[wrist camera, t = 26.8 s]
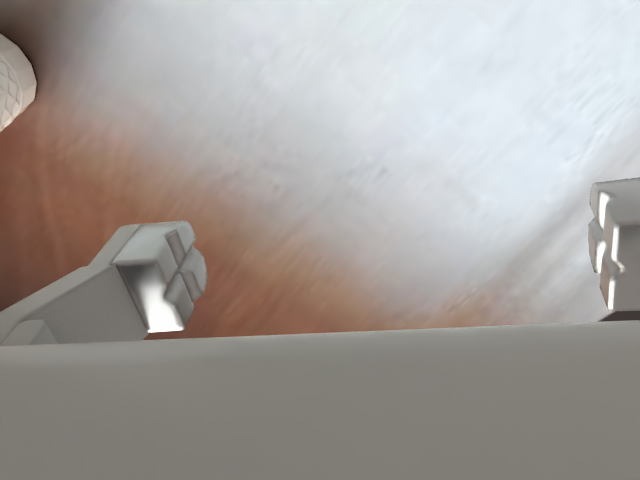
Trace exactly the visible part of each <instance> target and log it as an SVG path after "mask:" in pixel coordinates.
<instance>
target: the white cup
mask: <svg viewBox="0 0 640 480" xmlns="http://www.w3.org/2000/svg"><path fill="white" fill-rule="evenodd" d="M36 86H37V82H36V78H35V75H34V72H33V68H32V65H31V63H30V62H29V60H28V59H27V58H26V56H25V55H24V54H23V52H22V51H21V50H20V48H19V47H18V46H17V45H16V44H14V43H13V42H11V41H10V40H9V39H7V38H6V37H4V36H3V35H2V34H0V132H1V131H2V130H3V129H4V128H5V127H6V126H8V125H9V124H10V123H11V122H12V121H13V120H14V118H15V117H17V116H18V115H19V114H20V113H22V112H23V111H24V110H25V109H26V108H27V107H28V106H29V105H30V104H31V103H32V102H33V101H34V99H35V92H36Z"/></svg>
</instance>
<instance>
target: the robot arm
mask: <svg viewBox="0 0 640 480" xmlns="http://www.w3.org/2000/svg"><path fill="white" fill-rule="evenodd" d="M590 206H591V209H592V211H593V214H594V216H595V218H594V219H593V220H592V221H591V222H590V223H589V234H588V241H589V254H590V258H591V263H592V266H593V269H594V272H595V273H597V274H598V275H600V276H601V277H600V289H601V292H602V294H603V297H604V300H605V303H606V305H607V308H608V311H633V310H634V311H635V310H640V178H631V179H622V180H614V181H605V182H596V183H593V184H592V186H591V191H590ZM195 239H196V237H195V234H194V232H193V230H192V227H191V225H190V224H189V223H187V222H186V221H175V222H161V223H148V224H134V225H126V226H121V227H119V228H118V229H117V231H116V232H115V233H114V234H113V236H112V237H111V238H110V239H109V241H108V242H107V243H106V244H105V245H104V247H103V248H102V249H101V250H100V252H99V253H98V254H97V255H96V257H95V258H94V259H93V260H92V262H91V263H90V264H89V265H88V266H87V267H80V268H79V269H77V270H75V271H73V272H71V273H70V274H68V275H66V276H64V277H62V278H61V279H59V280H57V281H55V282H53V283H52V284H50V285H48V286H46V287H44V288H43V289H41V290H39V291H37V292H35V293H34V294H32V295H30V296H28V297H26V298H25V299H23V300H21V301H19V302H18V303H16V304H14V305H12V306H10V307H9V308H7V309H5V310H3V311H1V312H0V480H640V320H634V321H609V322H584V323H560V324H535V325H510V326H486V327H461V328H437V329H412V330H388V331H363V332H338V333H314V334H289V335H264V336H240V337H215V338H191V339H166V340H142V339H144V338H145V337H146V336H147V335H148V332H162V331H176V330H184V329H185V327H186V325H187V324H188V322H189V320H190V318H191V316H192V314H193V312H194V310H195V308H194V306H193V303H192V302H193V301H195V300H196V299H198V298H199V297H200V296H202V294H203V292H204V290H205V287H206V281H207V270H206V264H205V261H204V258H203V255H202V254H201V253H200V252H199V251H197V250H196V249H195V248H194V247H193V244H194V241H195Z"/></svg>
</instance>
